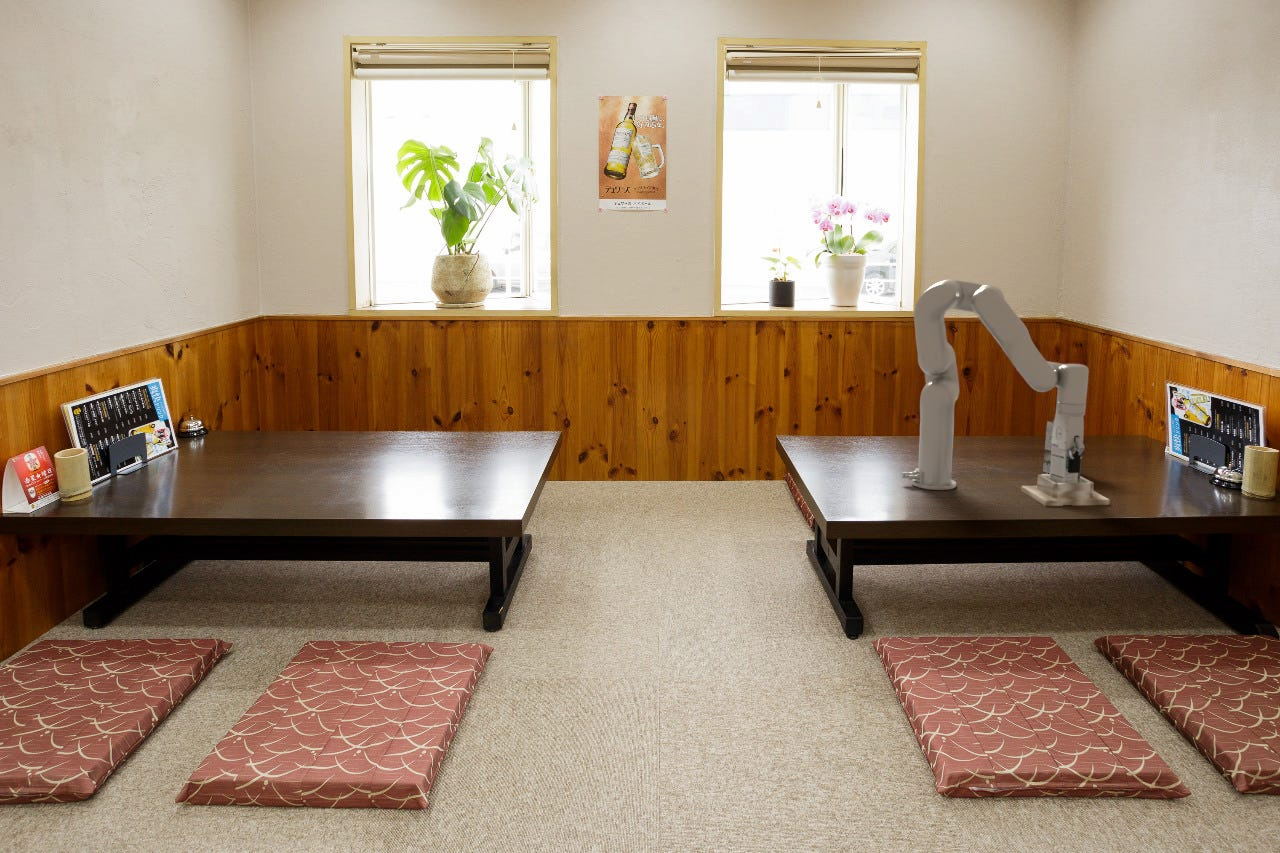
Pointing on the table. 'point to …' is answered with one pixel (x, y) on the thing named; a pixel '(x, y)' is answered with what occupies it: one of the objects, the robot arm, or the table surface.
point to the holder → (1064, 492)
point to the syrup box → (1061, 466)
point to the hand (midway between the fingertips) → (1065, 468)
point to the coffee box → (1048, 447)
